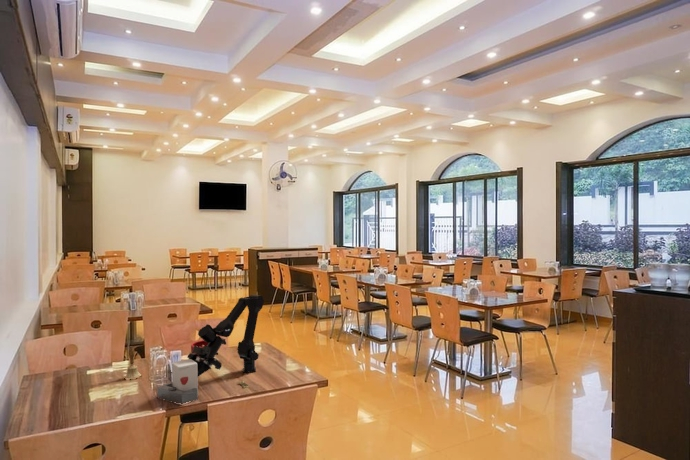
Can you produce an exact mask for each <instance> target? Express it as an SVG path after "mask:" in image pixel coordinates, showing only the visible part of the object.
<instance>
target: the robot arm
mask: <svg viewBox="0 0 690 460" xmlns="http://www.w3.org/2000/svg"><path fill="white" fill-rule="evenodd" d="M264 303H265V298H264V297H263V296H262V295H261V294H260V295H258V294H249V296H245V297H244V296H243V297H240V298H238V300H237V302H236V304H234V305H235V306H234V307H233V308H232V309H231V311H230V312H229V313H228V315H227V316H226V318H225V319H223V320H221V321H220V322H219V323H218V324H217V325H216V326H215V327H212V326H211V325H210V324H206V325H205V326H203V327H202V328H201V329H199V330H198V333H197V335H198V337H199V338H201V340H204V341H205V342H207V343H208V345H207V346H204V345H202V346H203V347H202V348H201V347H198V346H194V348H193V352H192V353H191V352H190V353H189V354H188V355H187V357H186V358H188V359H192V360H193V361H195V362H196V363H197V368H198V377H200V376H201V375H202V374H205V373H206V372H208V371H209V370H211V369H212V366H214V368H215V369H216V370H221V368H222V366H223V364H222V363H221V362H220V361H219V360H218V359H217V358H215V357H214V356H218V355H219V352H218V351H219V350H220V348H221V346H222V345H227V341H226V339H225V338H229V337H230V336H231V335H232V333H233V330H234V329H235V323H236V322H237V321H238V319H239V318H240V316H241V315H242V313H243V312H244V311H245V310H246V308H247V309H248V315H247V319H246V320H247V321H246V325H245V329H244V335H243V339H242V340H241V341H238V344H237V345H238V346H237V348H236V351H237V355H238V356H239V358H240V359H241V360H243V367H242V373H243V374H246V373H254V372H257V368H256V361H257V360H258V359H259V356H260V354H259V353H258V352H256V350H255V348H256V345H255V342H254V338H255V333H256V332H255V331H256V326H257V322H258V315H259V313H260V311H261V310H262V309H263V307H264ZM224 337H225V338H224ZM194 353H196V354H194ZM197 354H198V355H199V356H200V357H199V356H198V355H197Z"/></svg>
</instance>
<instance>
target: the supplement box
mask: <svg viewBox="0 0 690 460" xmlns="http://www.w3.org/2000/svg"><path fill="white" fill-rule="evenodd" d="M198 379H199V376H198V368H197V363H196V362H195V361H193V360H192V359H189V358H188V359H183V360H179V361H173V362H171V382H172V387H176V389H179V390H182V391H188V390H190V389H193V388H197V397H198V396H199V380H198Z"/></svg>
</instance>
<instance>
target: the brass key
mask: <svg viewBox="0 0 690 460" xmlns="http://www.w3.org/2000/svg"><path fill="white" fill-rule="evenodd" d="M237 384H238V385H241V386H242V388H243V389H247V388H249V384H247V383H245V381H244V380H240V381H238V382H237Z"/></svg>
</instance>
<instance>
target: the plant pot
mask: <svg viewBox="0 0 690 460" xmlns="http://www.w3.org/2000/svg"><path fill="white" fill-rule="evenodd" d="M207 345H208V343H207V342H205V341H204V340H203V339H201V340H197V341H194V342H192V343H191V345H190V353H192V352H193V348H194V346H196V347H201V348H202V347H203V346H207ZM194 354H196V353H194ZM197 355H198V354H197ZM198 356H199V355H198ZM215 356H216V355H215ZM215 356H214V358H215ZM199 357H200V356H199Z"/></svg>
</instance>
